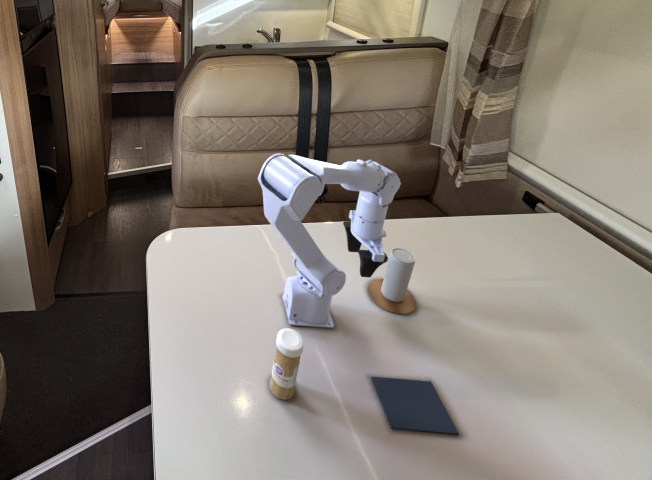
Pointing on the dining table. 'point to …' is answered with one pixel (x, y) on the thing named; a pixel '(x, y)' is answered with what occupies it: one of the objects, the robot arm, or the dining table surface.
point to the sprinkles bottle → (286, 363)
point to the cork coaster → (386, 304)
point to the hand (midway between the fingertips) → (358, 263)
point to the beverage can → (398, 274)
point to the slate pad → (413, 406)
